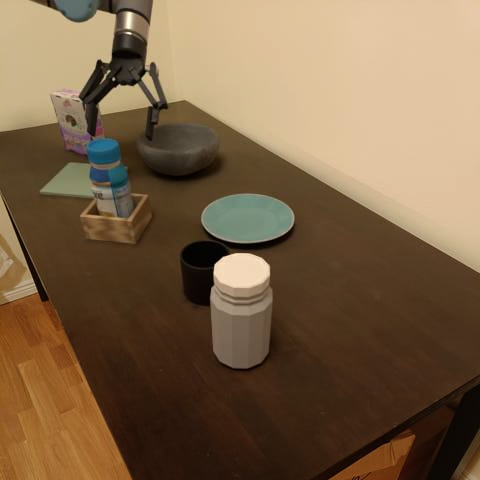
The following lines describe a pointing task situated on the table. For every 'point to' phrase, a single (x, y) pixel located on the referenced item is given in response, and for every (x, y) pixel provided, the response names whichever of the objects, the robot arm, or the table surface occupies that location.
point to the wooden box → (117, 222)
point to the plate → (247, 218)
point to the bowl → (179, 148)
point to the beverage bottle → (109, 179)
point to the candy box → (74, 121)
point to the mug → (200, 268)
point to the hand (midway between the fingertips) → (119, 136)
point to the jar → (241, 310)
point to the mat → (71, 182)
